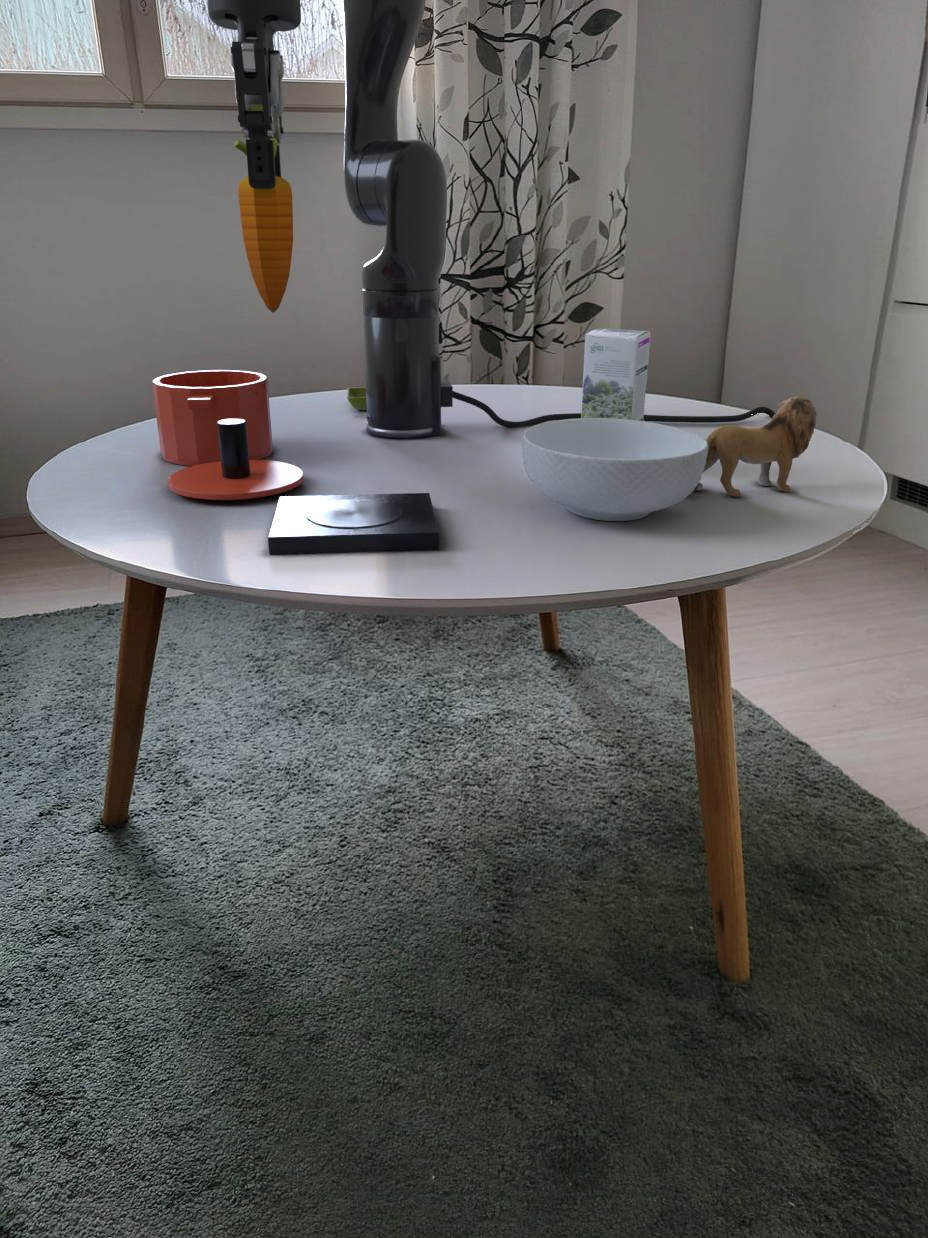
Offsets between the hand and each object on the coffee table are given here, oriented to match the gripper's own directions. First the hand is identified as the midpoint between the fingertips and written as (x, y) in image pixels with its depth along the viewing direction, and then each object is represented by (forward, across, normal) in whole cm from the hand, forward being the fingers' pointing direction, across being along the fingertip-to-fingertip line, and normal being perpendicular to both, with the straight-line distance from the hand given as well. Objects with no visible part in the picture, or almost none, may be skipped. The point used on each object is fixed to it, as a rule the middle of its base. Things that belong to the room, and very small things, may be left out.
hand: (266, 188), depth 82 cm
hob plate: (+28, -12, -7) cm, 31 cm away
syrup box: (+28, +9, -35) cm, 45 cm away
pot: (+28, +18, +9) cm, 34 cm away
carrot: (+11, 0, 0) cm, 11 cm away
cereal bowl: (+28, -7, -31) cm, 42 cm away
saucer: (+27, +45, -9) cm, 54 cm away
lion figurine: (+27, -1, -47) cm, 54 cm away
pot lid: (+27, +3, +5) cm, 28 cm away
